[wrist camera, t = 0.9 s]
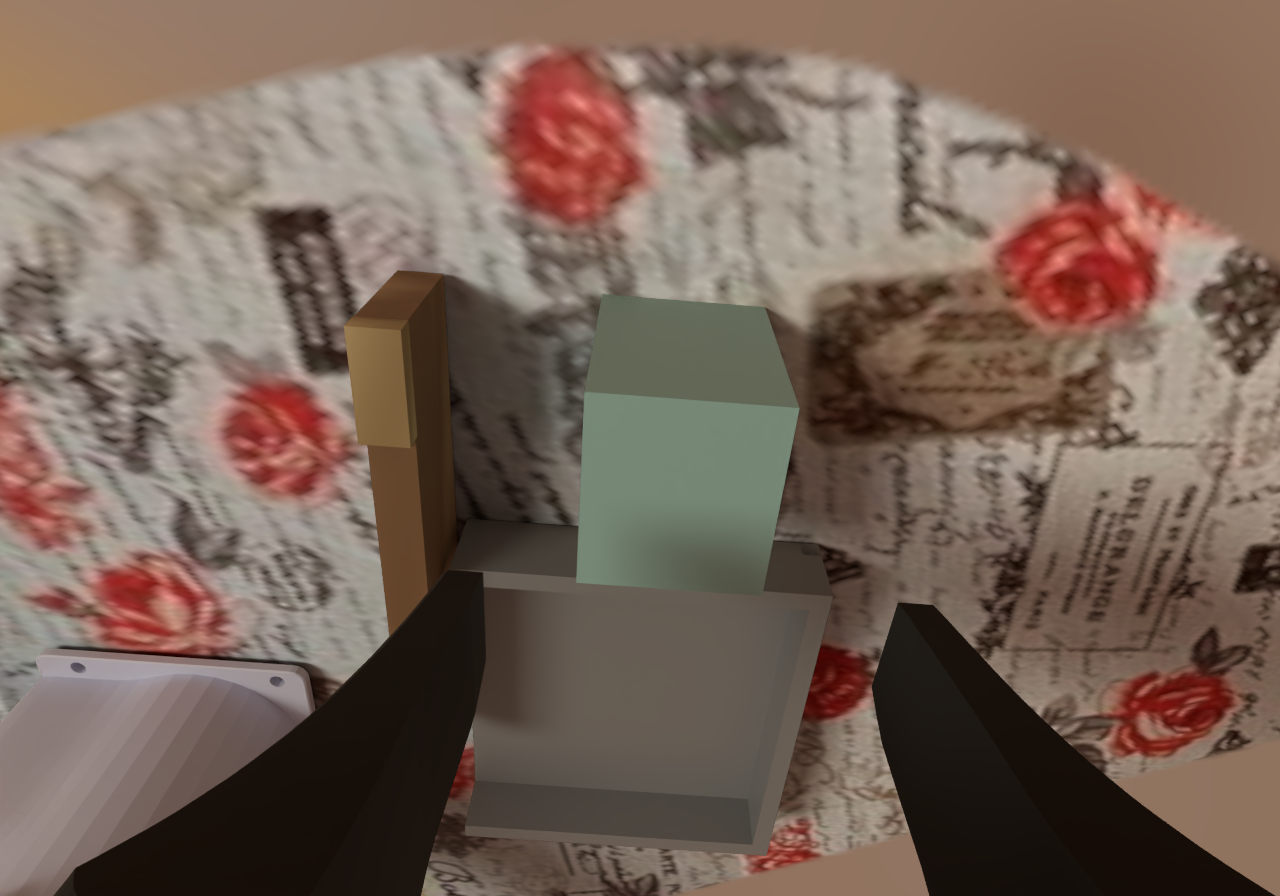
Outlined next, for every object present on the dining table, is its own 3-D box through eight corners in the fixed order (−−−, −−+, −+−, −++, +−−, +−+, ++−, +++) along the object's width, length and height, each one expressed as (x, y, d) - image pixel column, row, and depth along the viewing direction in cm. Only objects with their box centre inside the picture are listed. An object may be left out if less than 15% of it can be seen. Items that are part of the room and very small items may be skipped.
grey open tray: (478, 777, 31) (465, 835, 29) (467, 518, 25) (449, 568, 23) (758, 796, 31) (766, 855, 29) (818, 544, 25) (833, 596, 23)
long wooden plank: (432, 689, 28) (400, 785, 25) (397, 270, 21) (344, 325, 17) (466, 691, 28) (439, 788, 25) (444, 274, 21) (400, 329, 17)
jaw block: (594, 453, 24) (576, 582, 18) (602, 293, 21) (584, 391, 16) (739, 464, 24) (761, 596, 18) (764, 306, 21) (799, 408, 16)
